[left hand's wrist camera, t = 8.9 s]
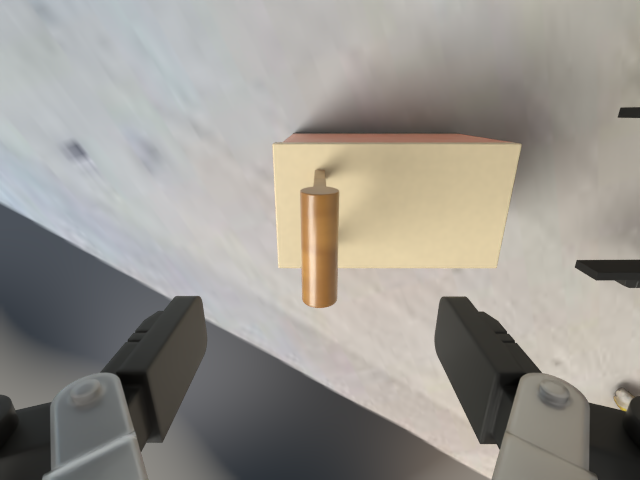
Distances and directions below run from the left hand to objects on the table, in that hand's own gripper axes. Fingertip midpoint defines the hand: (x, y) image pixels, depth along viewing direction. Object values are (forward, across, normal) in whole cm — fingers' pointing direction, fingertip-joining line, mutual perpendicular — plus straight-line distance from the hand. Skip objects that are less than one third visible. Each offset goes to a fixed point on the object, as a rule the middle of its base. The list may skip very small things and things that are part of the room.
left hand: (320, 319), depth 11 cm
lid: (+15, -5, 0) cm, 15 cm away
